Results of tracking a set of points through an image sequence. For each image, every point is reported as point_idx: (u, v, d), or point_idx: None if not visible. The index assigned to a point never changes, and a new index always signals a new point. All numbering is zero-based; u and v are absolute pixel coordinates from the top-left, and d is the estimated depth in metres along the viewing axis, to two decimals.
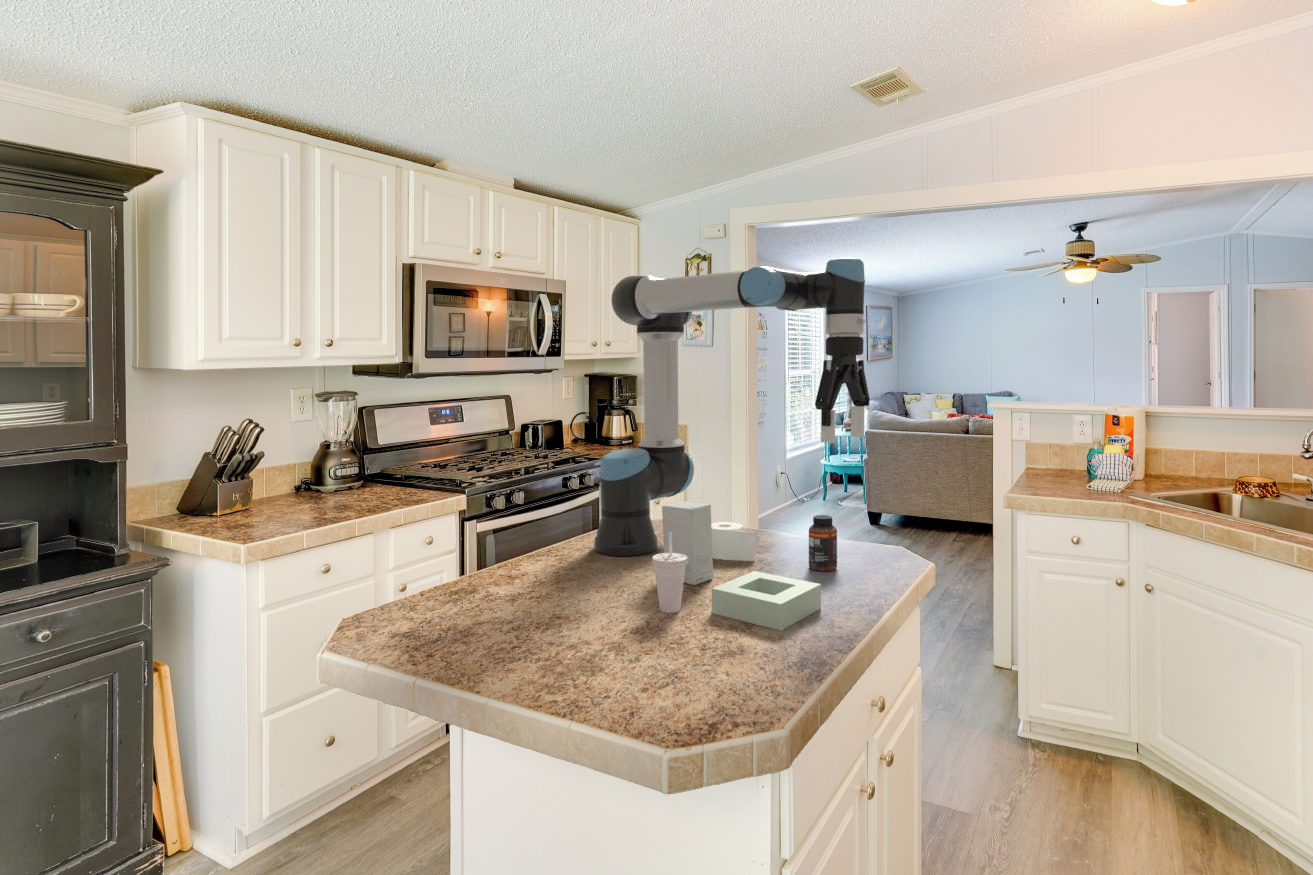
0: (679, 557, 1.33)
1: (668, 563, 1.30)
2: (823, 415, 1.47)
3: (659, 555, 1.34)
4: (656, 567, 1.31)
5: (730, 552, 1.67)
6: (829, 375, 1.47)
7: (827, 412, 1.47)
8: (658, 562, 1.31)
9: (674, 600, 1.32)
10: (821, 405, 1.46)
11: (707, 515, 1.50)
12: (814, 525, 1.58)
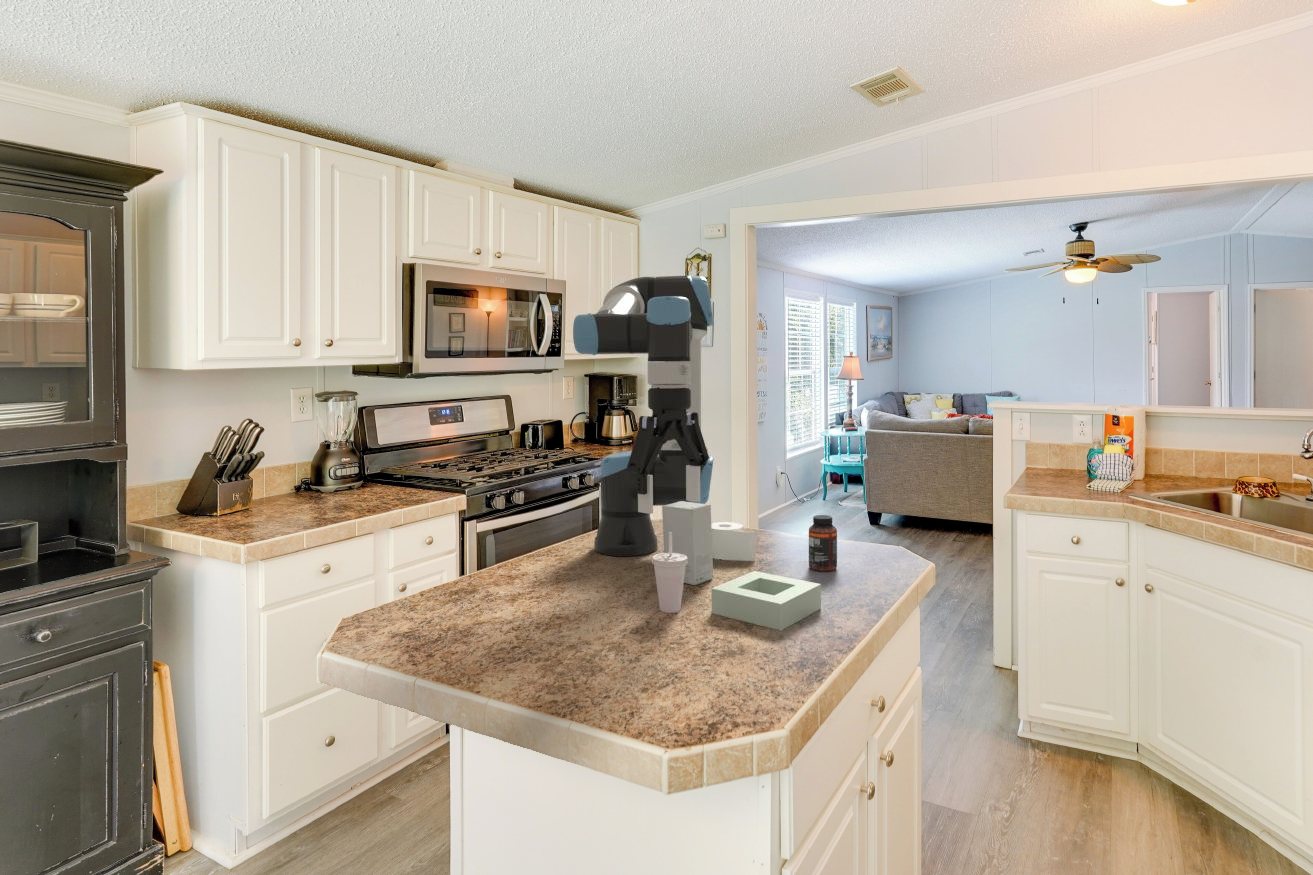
0: (679, 557, 1.33)
1: (668, 563, 1.30)
2: (638, 481, 1.25)
3: (659, 555, 1.34)
4: (656, 567, 1.31)
5: (730, 552, 1.67)
6: (644, 435, 1.25)
7: (642, 478, 1.25)
8: (658, 562, 1.31)
9: (674, 600, 1.32)
10: (633, 470, 1.23)
11: (707, 515, 1.50)
12: (814, 525, 1.58)
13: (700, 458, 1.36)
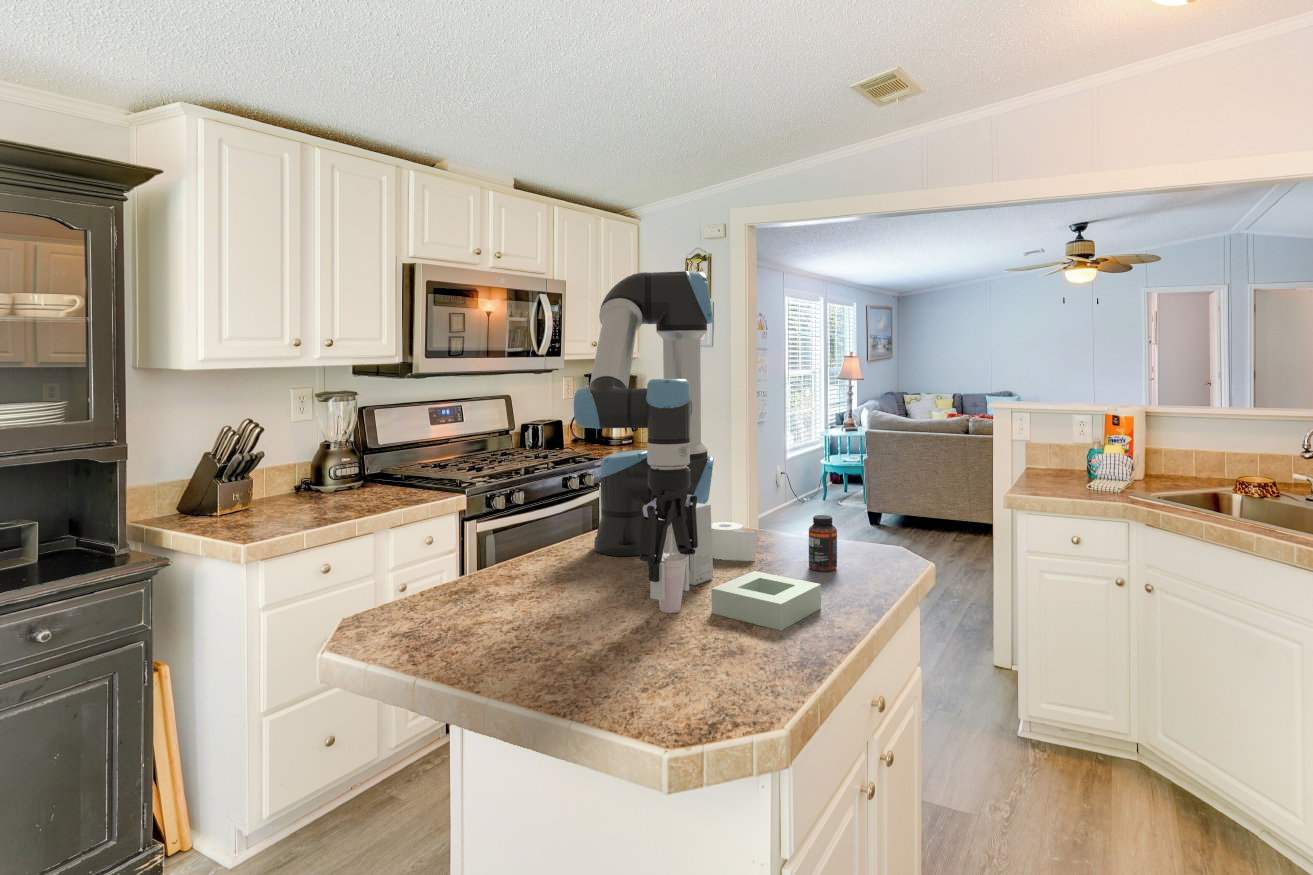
0: (679, 557, 1.33)
1: (668, 563, 1.30)
2: (650, 569, 1.29)
3: None
4: None
5: (730, 552, 1.67)
6: (648, 524, 1.27)
7: (654, 567, 1.29)
8: None
9: (674, 599, 1.32)
10: (646, 561, 1.28)
11: (707, 515, 1.50)
12: (814, 525, 1.58)
13: (690, 546, 1.35)
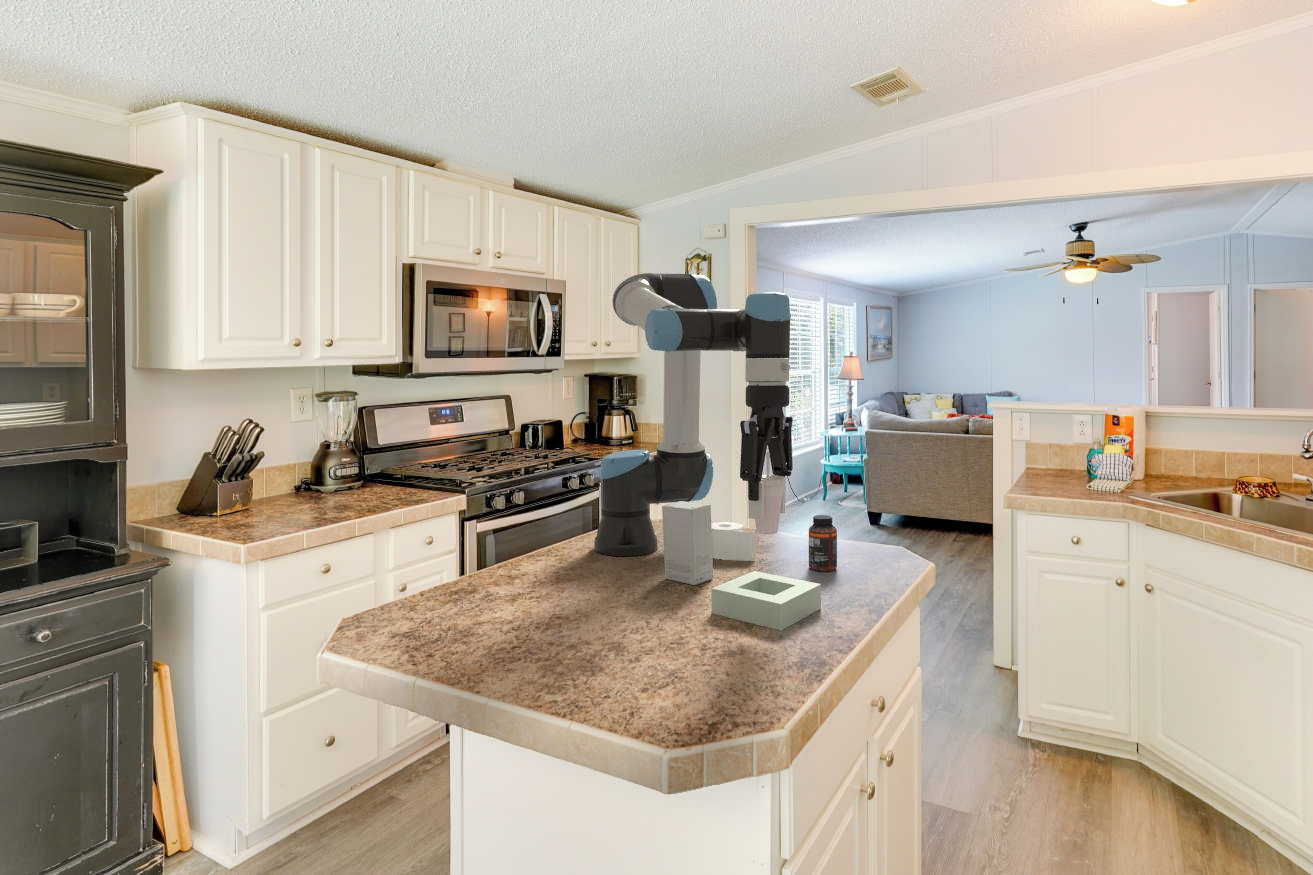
0: (777, 477, 1.30)
1: (768, 482, 1.27)
2: (750, 488, 1.27)
3: None
4: None
5: (730, 552, 1.67)
6: (749, 441, 1.24)
7: (754, 485, 1.26)
8: None
9: (773, 520, 1.29)
10: (747, 478, 1.25)
11: (707, 515, 1.50)
12: (814, 525, 1.58)
13: (786, 468, 1.33)
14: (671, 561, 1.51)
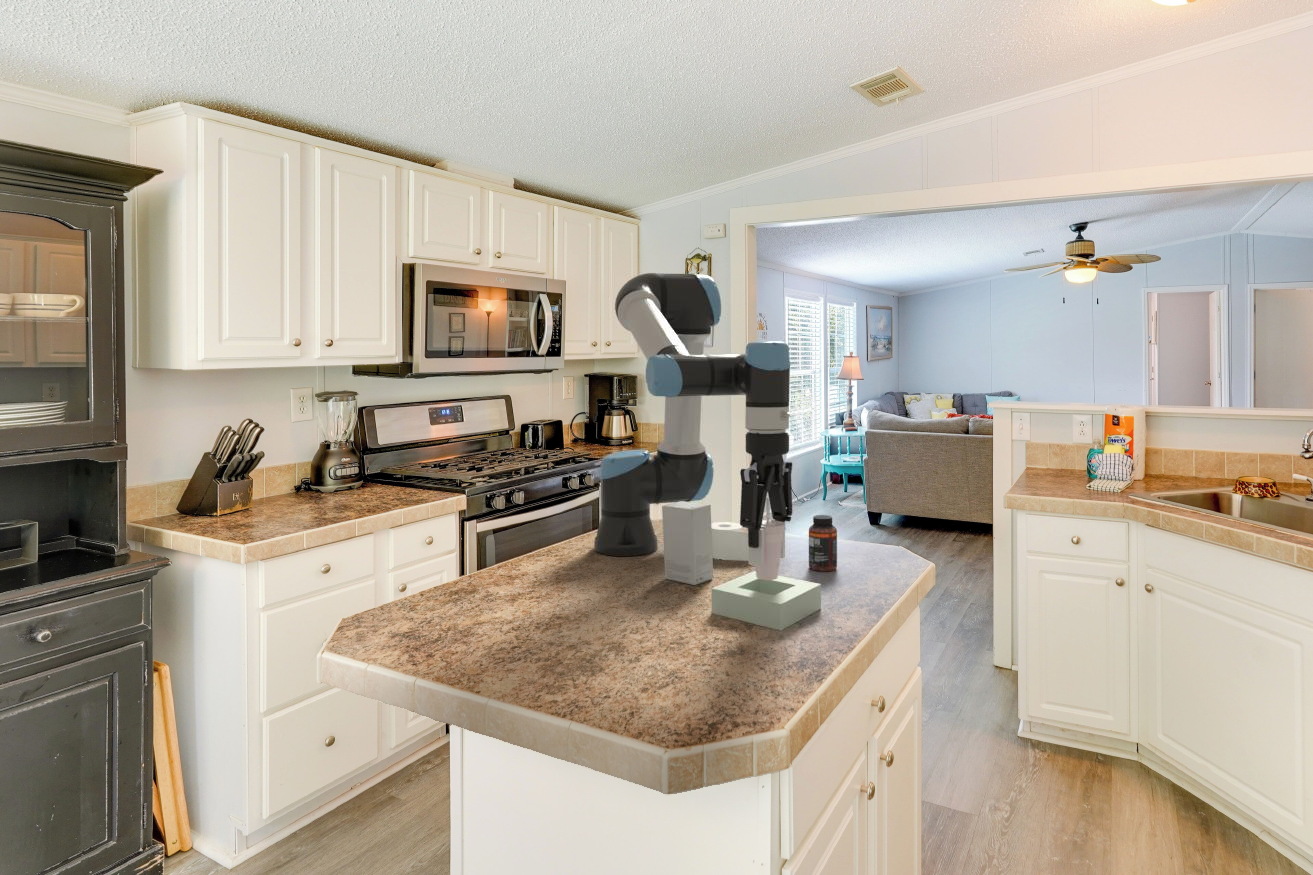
0: (777, 523, 1.31)
1: (768, 529, 1.28)
2: (750, 535, 1.27)
3: None
4: None
5: (730, 552, 1.67)
6: (749, 489, 1.25)
7: (754, 532, 1.27)
8: None
9: (773, 566, 1.30)
10: (747, 526, 1.26)
11: (707, 515, 1.50)
12: (814, 525, 1.58)
13: (785, 513, 1.33)
14: (671, 561, 1.51)
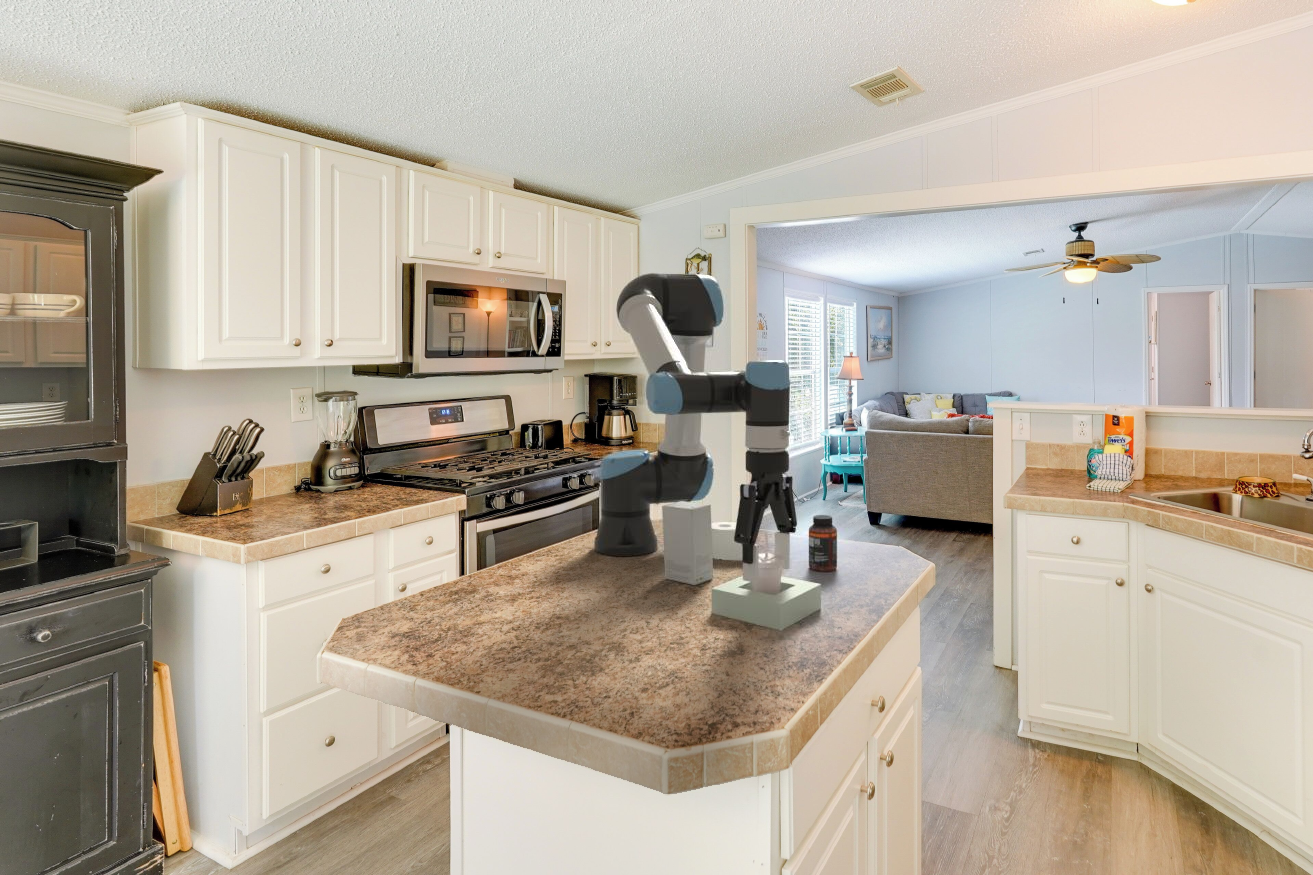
0: (776, 557, 1.31)
1: (767, 564, 1.29)
2: (744, 551, 1.26)
3: None
4: None
5: (730, 552, 1.67)
6: (747, 504, 1.25)
7: (748, 548, 1.26)
8: None
9: None
10: (741, 542, 1.25)
11: (707, 515, 1.50)
12: (814, 525, 1.58)
13: (790, 525, 1.35)
14: (671, 561, 1.51)
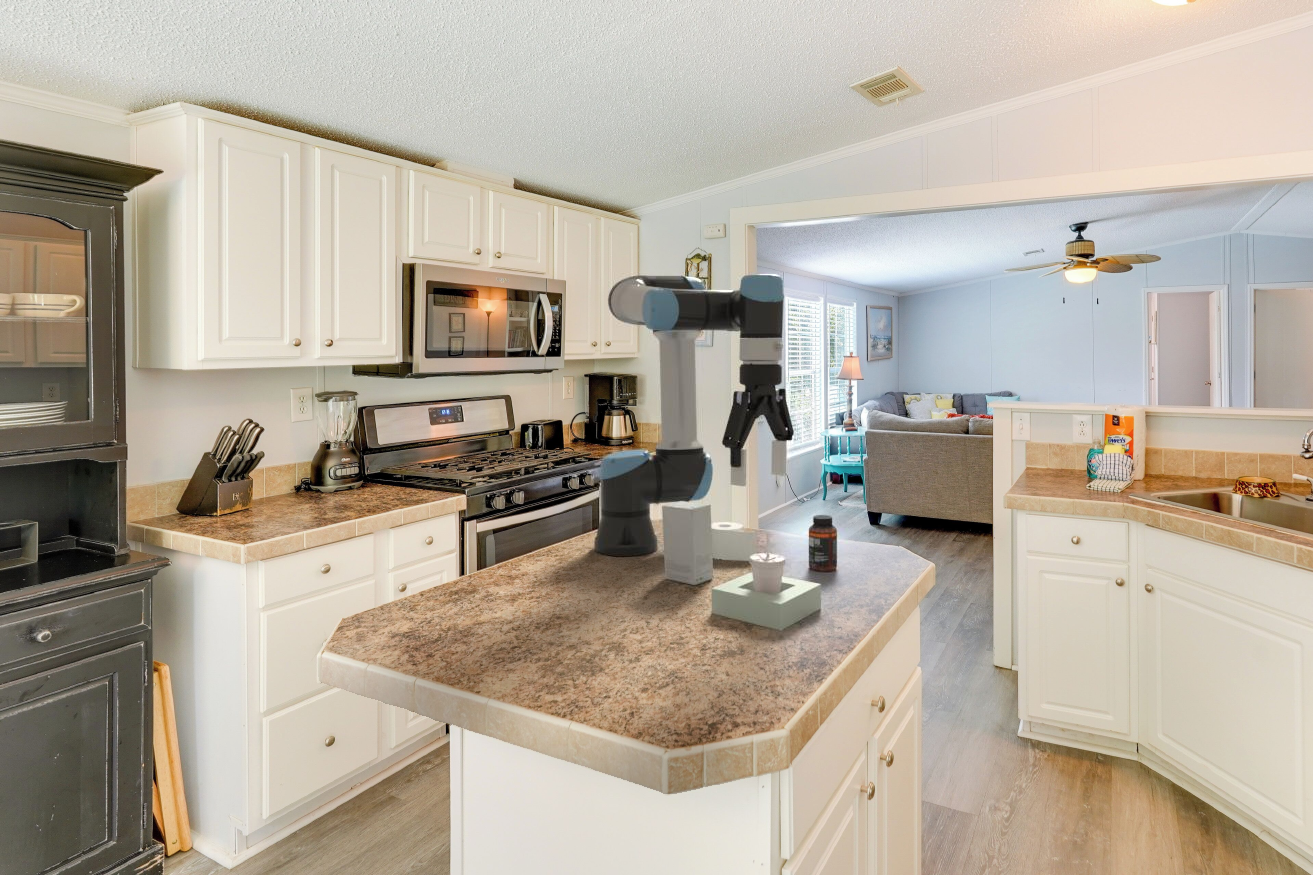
0: (777, 558, 1.32)
1: (768, 564, 1.29)
2: (732, 455, 1.29)
3: (756, 556, 1.33)
4: (755, 568, 1.30)
5: (730, 552, 1.67)
6: (739, 409, 1.28)
7: (736, 452, 1.28)
8: (757, 563, 1.29)
9: None
10: (728, 444, 1.27)
11: (707, 515, 1.50)
12: (814, 525, 1.58)
13: (786, 433, 1.40)
14: (671, 561, 1.51)
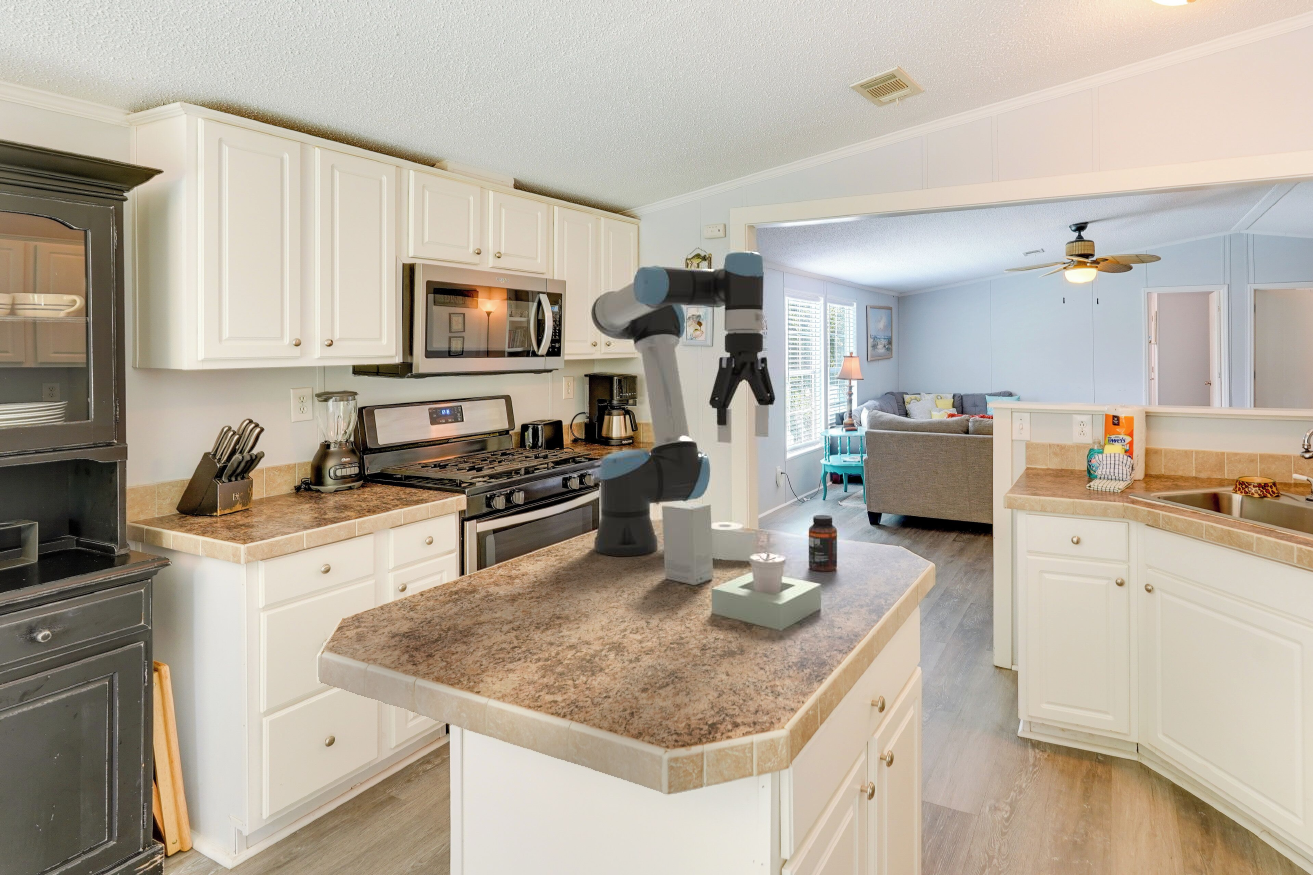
0: (777, 558, 1.32)
1: (768, 564, 1.29)
2: (718, 414, 1.43)
3: (756, 555, 1.33)
4: (755, 568, 1.30)
5: (730, 552, 1.67)
6: (724, 373, 1.42)
7: (722, 411, 1.42)
8: (758, 563, 1.29)
9: None
10: (715, 404, 1.41)
11: (707, 515, 1.50)
12: (814, 525, 1.58)
13: (768, 398, 1.53)
14: (671, 561, 1.51)
